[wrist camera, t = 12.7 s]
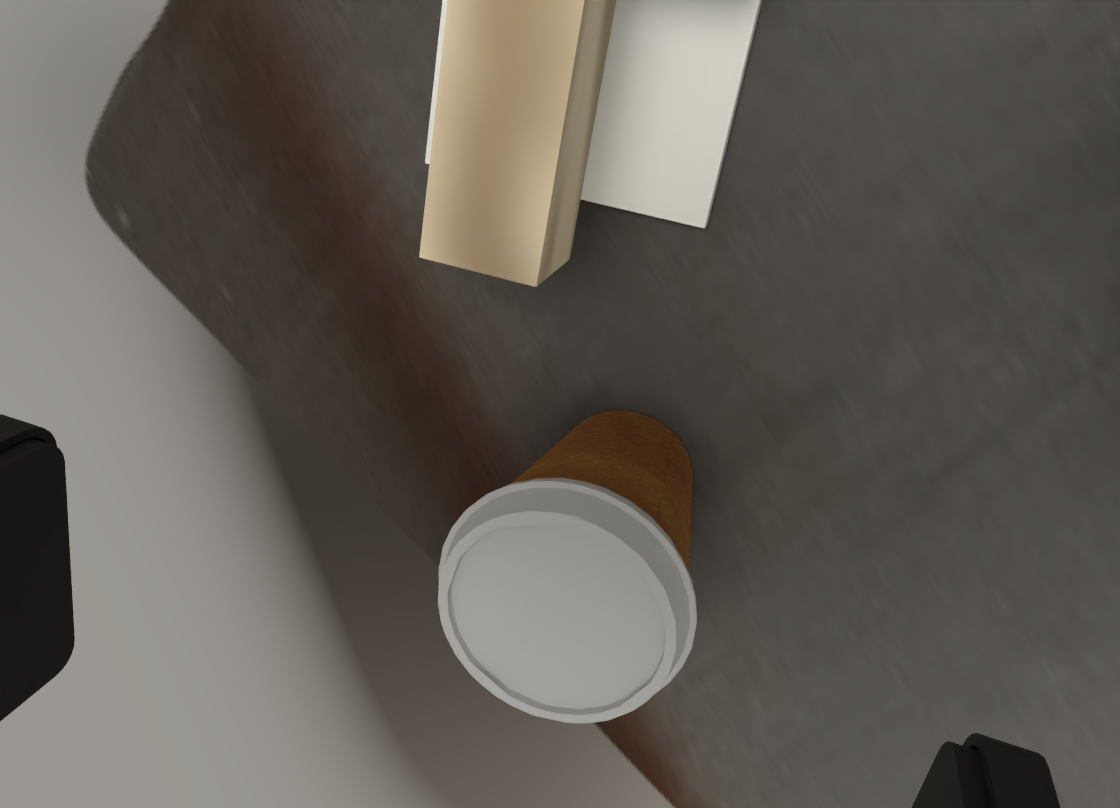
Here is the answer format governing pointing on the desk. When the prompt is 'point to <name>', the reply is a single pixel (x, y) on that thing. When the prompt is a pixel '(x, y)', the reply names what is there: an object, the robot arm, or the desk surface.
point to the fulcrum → (662, 104)
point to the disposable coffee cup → (578, 574)
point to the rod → (513, 133)
